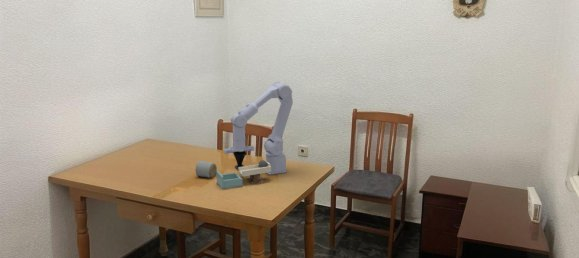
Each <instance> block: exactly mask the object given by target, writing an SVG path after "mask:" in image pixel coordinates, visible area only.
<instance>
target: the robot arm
mask: <svg viewBox="0 0 579 258" xmlns="http://www.w3.org/2000/svg"><path fill="white" fill-rule="evenodd" d="M271 99H278V100H279V102H280V104H279V108H278V112H277V114H276V115H277V116H276V118H275V121H274V125H273V128H272V131H271V133H270V134H269V135H268V137H267V139H266V141H265V142H264V143H263V149H264V150H265V151H266V152H265V161H267V162H268V163H270V166H271V172H266V174H267V175H268V176H269V175H270V176H271V175H278V174H284V173H287V159H286V158H287V157H286V154H285V153H283V150H284V148H283V144H284V140H283V135H284V132H285V129H286V126H287V122H288V119H289V117H290V113H291V110H292V106H293V102H294V101H293V90H292V88H291V87H290V85H287V84H284V83H281V82H280V81H276V82H273V84H271V85H270V86H268V87H267V89H266V90H265V91H264V92H263V93H262V94H261V95H260V96H259V97H258V98H257V99H256V100H255V101H254V102H249V103H245V106H244V107H243V108H242V109H241V110H238V112H237V113H233V115H232V116H231V118H230V122H231V124H232V147H228V148H223V154H225V155H227V154H233V156H234V158H235V160H236V164H237V165H238V167H242V164H243V162H244V159H245V157H246V155H247V153H246V152H249V151H251V152H254V151H255V146H253V145H246V125H247V123H248V121H249V120H251V118H253V117H254V116H255V115H256V114H257V113H258V111H259V108H260V107H262V106H263V105H265V104H266V103H268V101H270V100H271Z"/></svg>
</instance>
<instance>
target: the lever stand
mask: <svg viewBox="0 0 579 258" xmlns="http://www.w3.org/2000/svg"><path fill="white" fill-rule="evenodd" d="M245 180H246V181H247V182H248V183H249V184H250V185H259V184H265V180H263V179H262V178H261V173H260V174H255V175H249V176H247V177H246V178H245Z"/></svg>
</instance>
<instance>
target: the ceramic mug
mask: <svg viewBox="0 0 579 258" xmlns="http://www.w3.org/2000/svg"><path fill="white" fill-rule="evenodd" d="M195 165H196V166H195V175H196V176H198V177H203V178H214V177H215V176H216V175H217V173H216V171H218V170H217V165H216V163H214V162H210V161H207V160H201V159H200V160H199V161H197V163H196V164H195Z"/></svg>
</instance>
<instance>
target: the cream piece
mask: <svg viewBox="0 0 579 258" xmlns="http://www.w3.org/2000/svg"><path fill="white" fill-rule="evenodd" d="M265 161H266V160H265ZM266 162H267V161H266ZM234 169H236V170H237V171H238V173H239V175H241V177H250V175H255V174H260V175H261V174H265V173H266V172H271V166H270V163H268V162H267V167H262V168H260V167H259V163H256V164H250V165H244V164H243V163H242V167H238V165H236V164H235V165H234ZM266 174H267V173H266Z"/></svg>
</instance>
